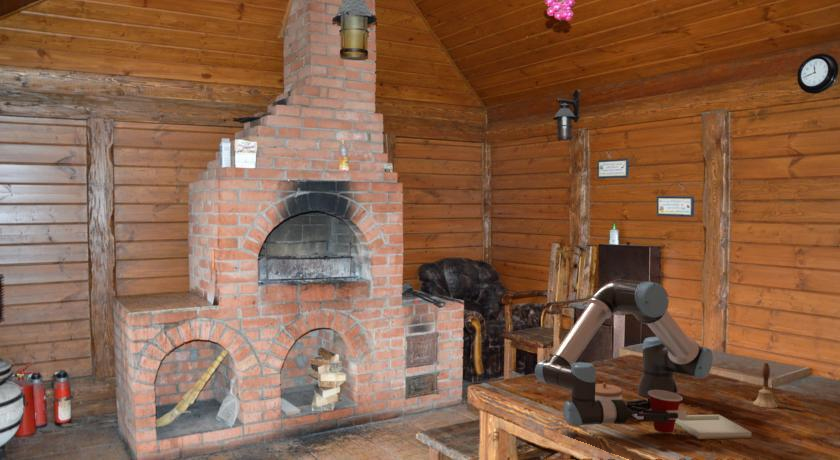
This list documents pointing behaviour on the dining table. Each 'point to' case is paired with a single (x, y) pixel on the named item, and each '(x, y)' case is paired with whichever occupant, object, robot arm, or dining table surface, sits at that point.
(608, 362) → the dining table surface
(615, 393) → the lidded bowl
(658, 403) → the plastic cup
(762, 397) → the hand bell
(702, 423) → the tray
